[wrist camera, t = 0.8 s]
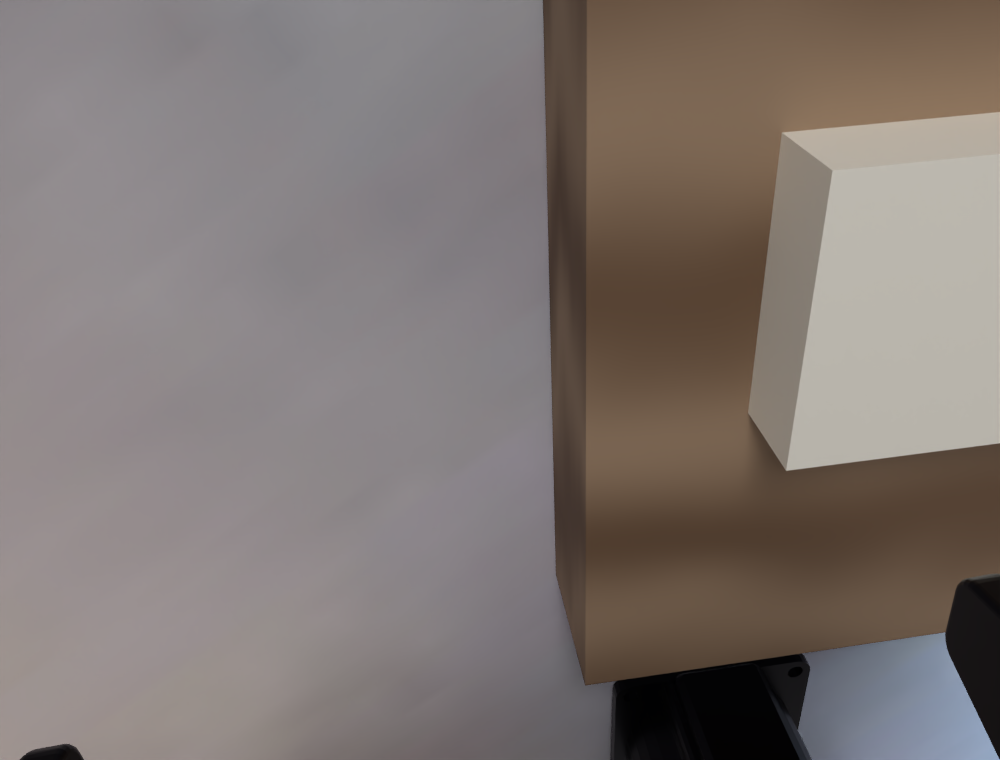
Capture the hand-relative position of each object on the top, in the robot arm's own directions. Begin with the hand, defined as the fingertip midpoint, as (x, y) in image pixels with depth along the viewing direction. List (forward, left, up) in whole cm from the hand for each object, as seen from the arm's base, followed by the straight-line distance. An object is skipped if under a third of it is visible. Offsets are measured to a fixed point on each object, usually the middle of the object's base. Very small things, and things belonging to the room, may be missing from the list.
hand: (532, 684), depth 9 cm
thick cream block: (-1, -11, -9) cm, 14 cm away
